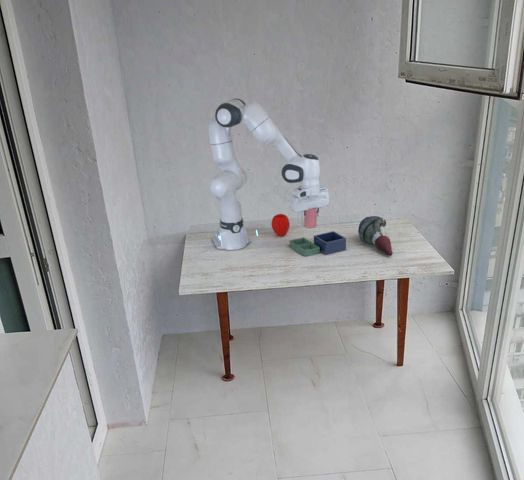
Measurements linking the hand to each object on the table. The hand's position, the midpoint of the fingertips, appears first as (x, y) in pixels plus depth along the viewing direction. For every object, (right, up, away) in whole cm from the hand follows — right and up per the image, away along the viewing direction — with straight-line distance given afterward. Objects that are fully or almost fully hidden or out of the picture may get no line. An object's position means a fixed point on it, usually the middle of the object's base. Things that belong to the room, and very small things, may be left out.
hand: (310, 217), depth 278 cm
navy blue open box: (+11, -13, +12) cm, 21 cm away
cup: (0, -4, +3) cm, 5 cm away
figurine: (+38, -12, +12) cm, 42 cm away
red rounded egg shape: (-14, -3, +31) cm, 34 cm away
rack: (-2, -14, +13) cm, 19 cm away
